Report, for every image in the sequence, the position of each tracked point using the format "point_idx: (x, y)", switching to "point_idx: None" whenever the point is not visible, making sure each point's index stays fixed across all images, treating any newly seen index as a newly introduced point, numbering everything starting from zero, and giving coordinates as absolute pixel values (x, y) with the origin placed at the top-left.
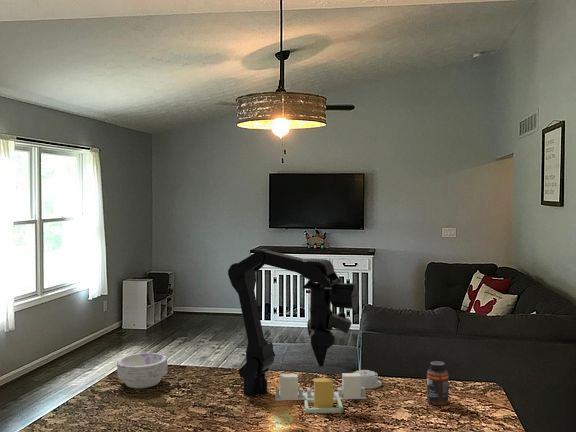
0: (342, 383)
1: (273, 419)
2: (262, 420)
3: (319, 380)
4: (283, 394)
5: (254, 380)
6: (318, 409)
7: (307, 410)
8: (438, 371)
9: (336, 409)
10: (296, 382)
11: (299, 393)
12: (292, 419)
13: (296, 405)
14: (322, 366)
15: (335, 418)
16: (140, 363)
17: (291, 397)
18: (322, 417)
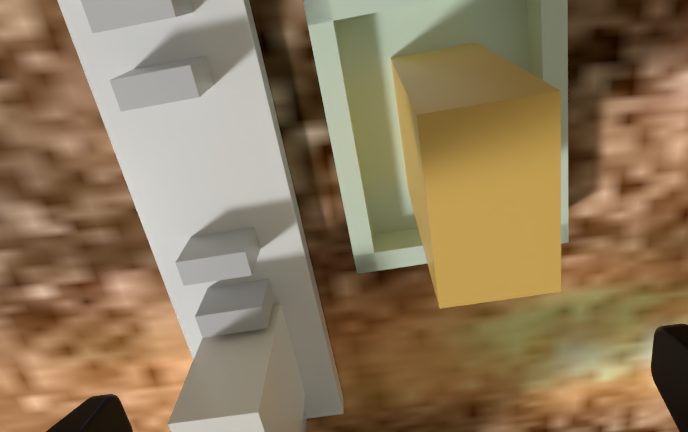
0: None
1: (583, 377)
2: (594, 420)
3: (512, 249)
4: (299, 396)
5: None
6: (566, 158)
7: (564, 229)
8: None
9: (564, 13)
10: (268, 388)
11: (269, 313)
12: (589, 288)
13: (354, 291)
14: (680, 329)
15: (588, 14)
16: None
17: (290, 341)
18: None
